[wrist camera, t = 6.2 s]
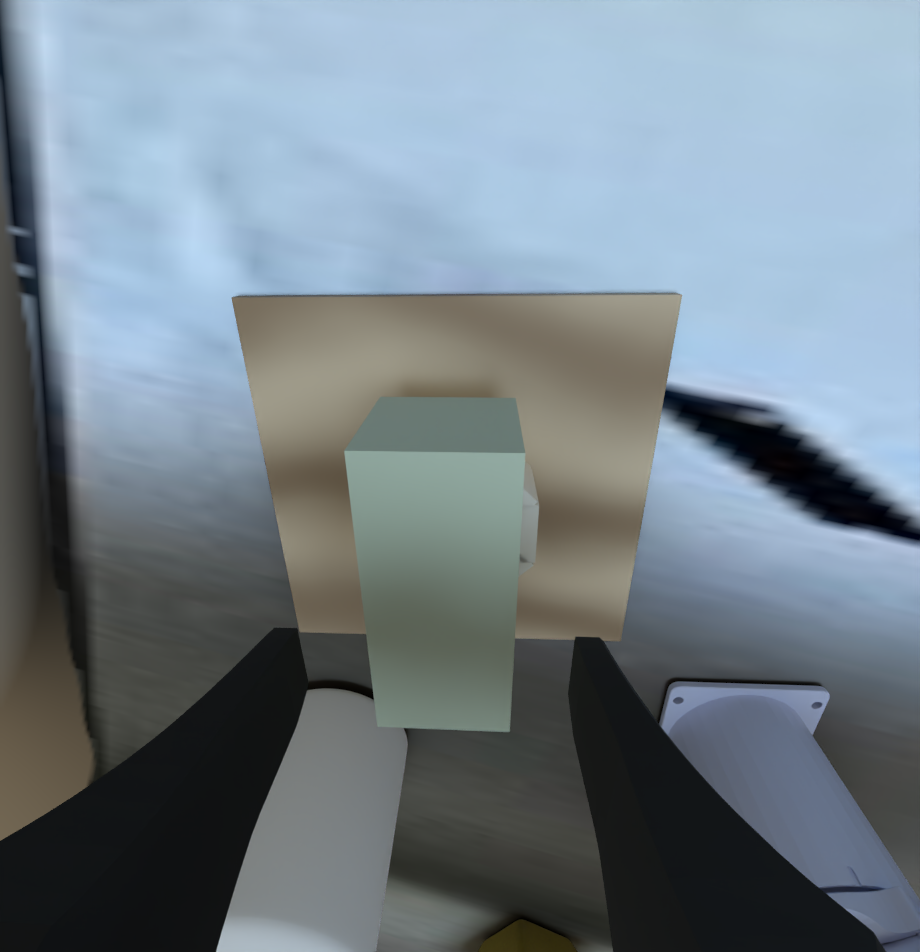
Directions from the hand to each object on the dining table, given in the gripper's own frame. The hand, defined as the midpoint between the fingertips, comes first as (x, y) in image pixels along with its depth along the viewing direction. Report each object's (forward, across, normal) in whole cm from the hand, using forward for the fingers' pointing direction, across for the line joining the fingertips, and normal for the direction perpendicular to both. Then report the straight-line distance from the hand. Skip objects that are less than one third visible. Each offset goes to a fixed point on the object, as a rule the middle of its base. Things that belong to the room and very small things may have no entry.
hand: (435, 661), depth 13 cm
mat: (+10, 0, 0) cm, 10 cm away
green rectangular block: (+6, 0, 0) cm, 6 cm away
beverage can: (+10, +7, +16) cm, 20 cm away
